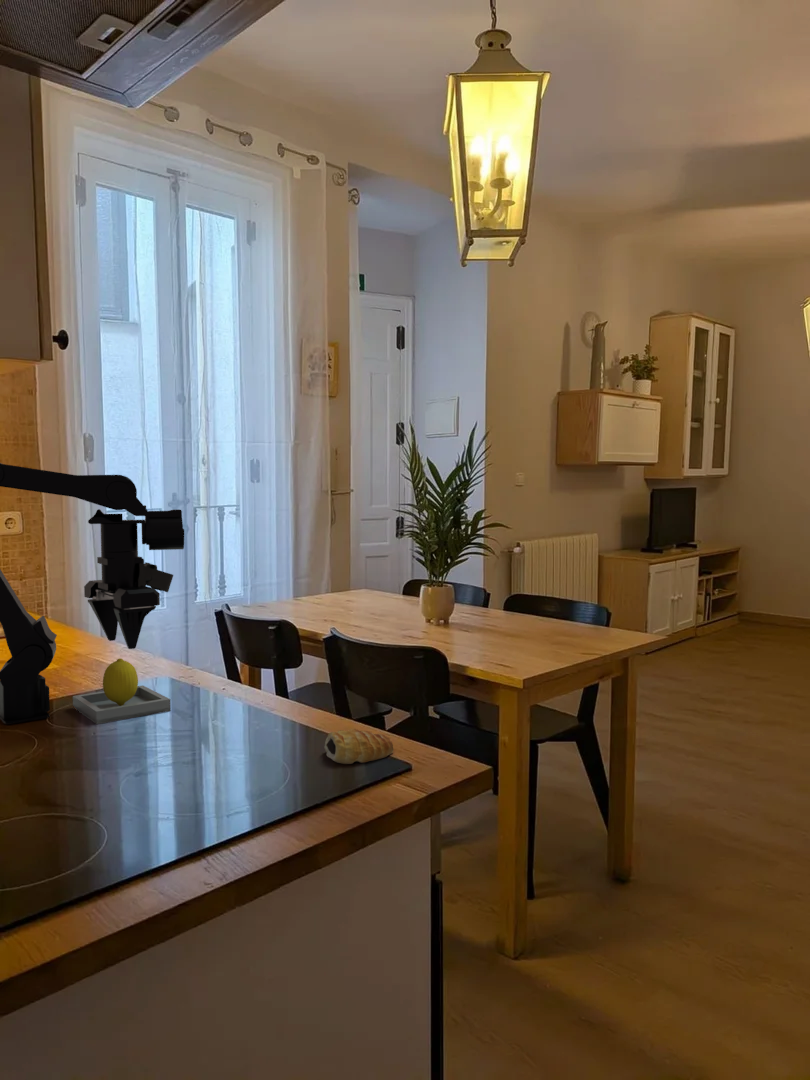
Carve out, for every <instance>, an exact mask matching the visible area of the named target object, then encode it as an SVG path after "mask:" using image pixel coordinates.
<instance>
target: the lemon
mask: <svg viewBox="0 0 810 1080" xmlns="http://www.w3.org/2000/svg"><path fill="white" fill-rule="evenodd" d="M138 686H139V678H138V673H137V669H136V668H135V666H134V665H133V664H132V663H130V662H129V661H127V660H124V659H123V658H117V659H116V660H115V661H113V662H111V663H110V664H109V665H107V666H106V668H105V670H104V673H103V678H102V690H103V691H104V693H105V695H106V697H107V698H108V699H109V700H111V701H113V702H115V703H117V704H118V705H119V706H122V705H124V704H125V702H126V701H128V700H130V699H131V698H132V697H133V696H134V695H135V693H136V691H137V687H138Z"/></svg>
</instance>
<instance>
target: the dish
mask: <svg viewBox="0 0 810 1080" xmlns="http://www.w3.org/2000/svg"><path fill="white" fill-rule="evenodd" d="M73 706H74V707H75V708H76V709H77V710H78V711H79V712H78V711H77V710H76V711H77V712H78V713H80V714H81V713H82V714H81V715H82V716H84V717H85V718H87V719H88V720H90V721H91V722H93V723H94V724H96V725H100V724H105V723H112V722H116V721H122V720H128V719H134V718H139V717H145V716H151V715H156V714H161V713H162V714H163V713H168V712H171V710H172V709H171V708H172V707H171V699H170V698H169V697H167V696H165V695H163V694H161V693H159V692H158V691H155V690H153V689H151V688H149V687H147V686H145V685H138V687H137V691H136V693H135V695H134V696H133V697H132V698H131V699H130V700H128V701H126V702H125V704H124V705H122V706H119V705H118V704H117V703H115V702H113V701H111V700H109V699H108V698H107V697H106V695H105V693H104V690H103V691H98V692H91V693H85V694H78V695H77V694H76V695H73V696H72V707H73Z"/></svg>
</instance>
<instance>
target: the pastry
mask: <svg viewBox="0 0 810 1080" xmlns="http://www.w3.org/2000/svg"><path fill="white" fill-rule="evenodd" d="M324 750H325V752H326V756H327V758H329V759H331V760H332V761H334V763H338V764H341V765H352V764H354V763H355V762H359V763H362V764H363V763H368V762H370V761H376V760H380V759H383V758H386V757H388V756H389V755H392V753H393V752H394V744H393V742H392V741H391V738H390V737H388V736H387V735H385V734H383V733H379V732H378V733H373V732H372V731H368V730H359V729H356V728H353V729H352V728H351V729H349V730H337V731H332V732H329V733H328V734H327V737H326V739H325V742H324Z"/></svg>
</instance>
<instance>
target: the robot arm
mask: <svg viewBox="0 0 810 1080" xmlns="http://www.w3.org/2000/svg"><path fill="white" fill-rule="evenodd" d="M0 487H1V488H8V489H16V490H20V491H21V490H23V491H30V492H38V493H43V494H49V495H57V496H65V497H70V498H71V497H72V498H76V499H79V500H82V501H85V502H89V503H91V504H94V505H98V506H100V507H104V508H107V509H110V510H115V511H123V510H125V511H127V512H128V513H130V514H131V515H133V516H134V517H144V519H123V513H104V512H103V511H102V510H101V509H96V510H95V511H96V512H95V513H94V515H93V516H92V517H90V518H89V519H88V520H87V523H88V524H89V525H99V526H100V551H101V552H100V554H101V555H100V556H98V557H97V558H96V561H97V564H99V565H100V564H101V579H96V580H95V579H93V580H88V582H87V583H86V584H85V585H84V586H83V588H84V589H83V591H84V592H83V593H84V594H83V595H84V596H83V597H84V598H87V603H88V605H90V607H91V609H92V611H93V613H94V614H95V617H96V618H97V621H98V622H99V624H100V626H101V628H102V630H103V632H104V634H105V636H106V638H107V640H108V641H109V642H112V641H116V640H117V639H116V638H117V633H118V632H117V631H118V626H119V627H120V630H121V633H122V635H123V639H124V642H125V644H126V647H127V648H128V649H129V650H134V649H136V647H137V644H138V642H139V639H140V633H141V630H142V626H143V623H144V620H145V619H146V616H147V615H149V614H150V613H151V612H152V611H154V610H155V609H156V608H157V606H160V604H161V602H160V601H161V599H160V597H161V596H160V592H159V591H162V592H165V593H169V590H170V587H171V584H172V581H173V577H174V574H172V573H170V572H166V571H162V570H159V569H158V566H157V565H156V564H154V563H150V562H145V559H144V558H143V556H139V546H138V545H139V544H138V542H139V541H138V538H139V536H138V524H141V545H145V546H148V549H149V551H165V550H167V551H169V550H170V551H172V550H174V551H175V550H184V549H185V529H184V523H183V515H182V513H183V511H182V509H170V510H148V509H147V505H144V504H143V503H142V502H141V501H140V500H139V498H138V497H137V494H138V491H137V488H136V484H135V483H134V481H133V480H132V479H131V478H129V477H128V476H125V475H122V474H86V475H84V474H82V475H81V474H72V473H65V472H64V473H63V472H58V471H51V470H45V469H38V468H32V467H26V466H25V467H23V466H18V465H11V464H6V463H2V462H0ZM0 625H1V627H2V629H3V633H4V638H5V640H6V644H7V647H8V650H9V653H10V656H11V657H10V658H9V659H8V660H7V661H6V662H5V663H4V665H3V666H2V667H1V669H0V721H1V722H2V723H3V724H4V725H11V724H18V723H19V724H20V723H24V722H31V721H34V720H35V721H36V720H41V719H48V718H50V713H48V712H50V710H51V709H50V708H51V707H50V687H49V685H47V684H46V677H44V676H43V675H42V674H40V673H41V672H43V671H45V670H46V669H47V668H49V667H50V665H51V664H52V661H53V660H54V657H55V654H56V650H57V642H56V638H57V634H56V633H55V632H53V630H52V629H51V628H50V626H49V625H48V621H47V619H46V616H45V615H42V616H40V617H39V618H37V619H35V618H34V617H33V616H32V615H31V614H30V613H29V612H28V611H27V610H26V608H25V607H24V606H23V604H22V602H21V600H20V599H19V597H18V596H17V594H16V592H15V590H14V589H13V587H12V586H11V584H10V582H9V581H8V579H7V578H6V576H5V575H4V573H3V572H2V570H1V569H0Z"/></svg>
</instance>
